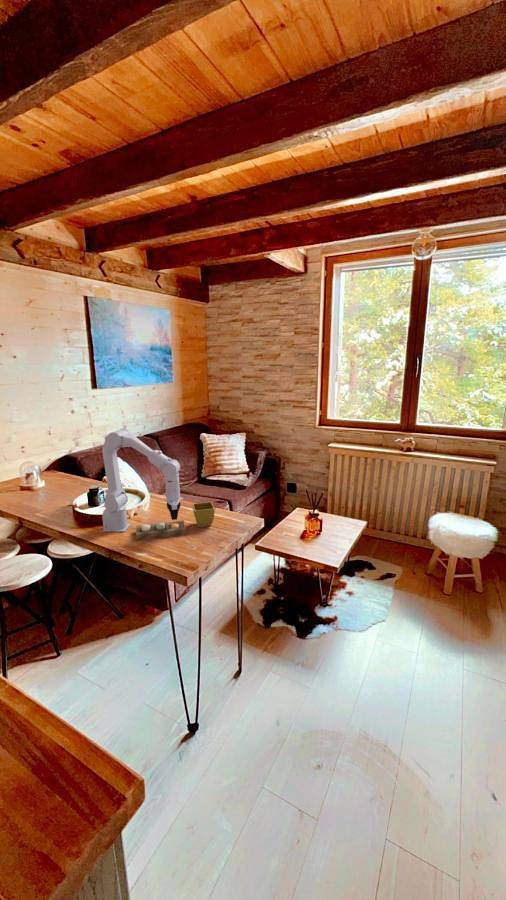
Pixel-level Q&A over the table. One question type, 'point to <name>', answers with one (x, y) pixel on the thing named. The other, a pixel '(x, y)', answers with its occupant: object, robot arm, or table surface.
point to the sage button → (160, 526)
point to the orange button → (174, 525)
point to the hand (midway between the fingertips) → (174, 519)
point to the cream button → (145, 527)
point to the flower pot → (204, 513)
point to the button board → (160, 531)
